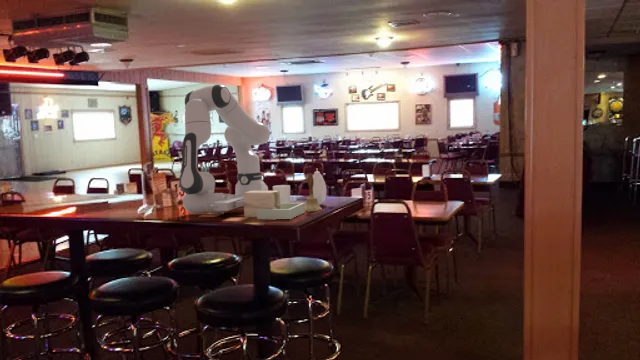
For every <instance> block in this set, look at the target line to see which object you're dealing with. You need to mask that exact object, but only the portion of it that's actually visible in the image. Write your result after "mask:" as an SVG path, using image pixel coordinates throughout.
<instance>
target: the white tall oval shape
mask: <svg viewBox="0 0 640 360" xmlns="http://www.w3.org/2000/svg"><path fill="white" fill-rule="evenodd" d="M312 176H313V180H314V184H313V194H314V196H315V197H316V198H317V202H318V205H319V206H321V205H322V204H323V203H324V202H325V200H326V196H327V186H326V182H325V179H324V177H323V175H322V174H321V172H320V171H318V169H316V171H314V173H313V175H312ZM309 193H310V192H309ZM309 193H308V194H309Z"/></svg>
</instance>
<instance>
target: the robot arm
mask: <svg viewBox="0 0 640 360" xmlns="http://www.w3.org/2000/svg"><path fill="white" fill-rule="evenodd" d="M184 106H185V112H184V127H185V128H184V130H185V133H184V137H183V142H182V153H181V157H182V158H181V172H180V175H179V181H178V183H179V187H180V189H181V191H182V192H183V193H184V195H183V197H182V206H183V207H184V209H185V210H186V211H187V212H189V213H193V214H207V213H214V214H222V213H224V212H229V211H231V210H234V209H237V208H240V207H244V197H243V193H245V192H248V191H269V187H268V185H267V183H265V182H264V181H263V177H264V172H262V171H261V165H260V157H259V155H258V154H257V153H255V152H254V150H253V149H252V148H253V147H252V146H259V145H264V144H266V143H268V141H269V140H270V137H271V132H270V129H269V126H267V124H264V123H262V122H260V121H258V120H257V119H255V118H254V117H252V116H251V115H249V113H247V112H246V111H245V110H244V109H243V107H242V105H240V103H239V101H238V100H237V98H236V97H235V96H234V95H233V93H232V92H231V91H230V90H229V88H227V87H226V86H225V85H223V84H214V85H209V86H204V87H202V88H199V89H196V90H192V91H189V92H188V93H187V94H185V98H184ZM213 111H215V112H216V113H217V115H219V117H220V119H221V120H222V121H223V123H224V124H225V125H226V126H227V127H226V128H225V130H224V139H225V141H226V142H227V143H228V145H230V146H231V148H232V149H233V152H234V153H235V156H236V163H237V174H236V177H237V178H236V179H237V182H236V184H235V189H234V190H235V191H234V192H235V193H234V194H231V193H224V192H215V189H216V179H215V177H214V175H213V174H212V173H210V172H206V171H199V169H198V153H199V149H200V147H201V146H202V145H204V144H206V143H207V142H208V141H209V139H210V138H211V135H212V123H211V116H210V115H211V114H210V112H213ZM222 215H223V214H222Z"/></svg>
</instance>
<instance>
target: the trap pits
mask: <svg viewBox="0 0 640 360" xmlns="http://www.w3.org/2000/svg"><path fill="white" fill-rule="evenodd" d="M224 213H225V214H227V211H225V212H224ZM224 213H222V215H225V214H224ZM222 215H221V214H214V213H208V212H207V213H202V214H201V215H198V218H199V217H200V218H204V217H206V218H207V217H209V218H210V217H212V218H216V217H219V216H222ZM249 218H250V217H245V216H244V217H243V216H238V217H236V216H234V217H233V216H230V217H228V218H225V219H222V220H221V222H242V221H245V220H247V219H249Z"/></svg>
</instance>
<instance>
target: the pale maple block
mask: <svg viewBox="0 0 640 360" xmlns="http://www.w3.org/2000/svg"><path fill="white" fill-rule="evenodd" d="M243 197H244V206H243V212H244V214H243V216H244V217H249V218H257V209H281V207H280V191H273V190H268V191H248V192H245V193H243Z"/></svg>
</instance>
